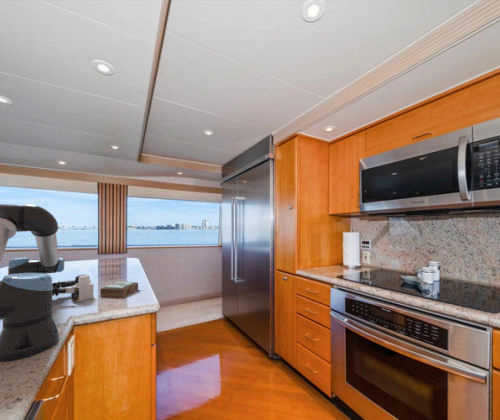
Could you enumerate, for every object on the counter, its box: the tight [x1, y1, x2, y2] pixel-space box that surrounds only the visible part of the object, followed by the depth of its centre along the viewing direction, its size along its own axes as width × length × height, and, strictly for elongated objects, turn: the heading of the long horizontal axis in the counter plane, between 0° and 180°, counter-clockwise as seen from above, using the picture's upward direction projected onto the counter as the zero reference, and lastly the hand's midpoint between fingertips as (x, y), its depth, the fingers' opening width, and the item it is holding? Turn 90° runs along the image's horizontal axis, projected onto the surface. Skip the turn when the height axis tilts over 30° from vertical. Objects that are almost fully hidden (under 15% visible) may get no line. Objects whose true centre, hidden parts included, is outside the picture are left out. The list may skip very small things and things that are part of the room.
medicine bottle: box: [70, 274, 94, 302], centre depth 122 cm, size 7×7×12 cm
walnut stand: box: [100, 281, 139, 298], centre depth 131 cm, size 13×13×4 cm
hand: (82, 286), depth 123 cm, fingers open, 13 cm apart
